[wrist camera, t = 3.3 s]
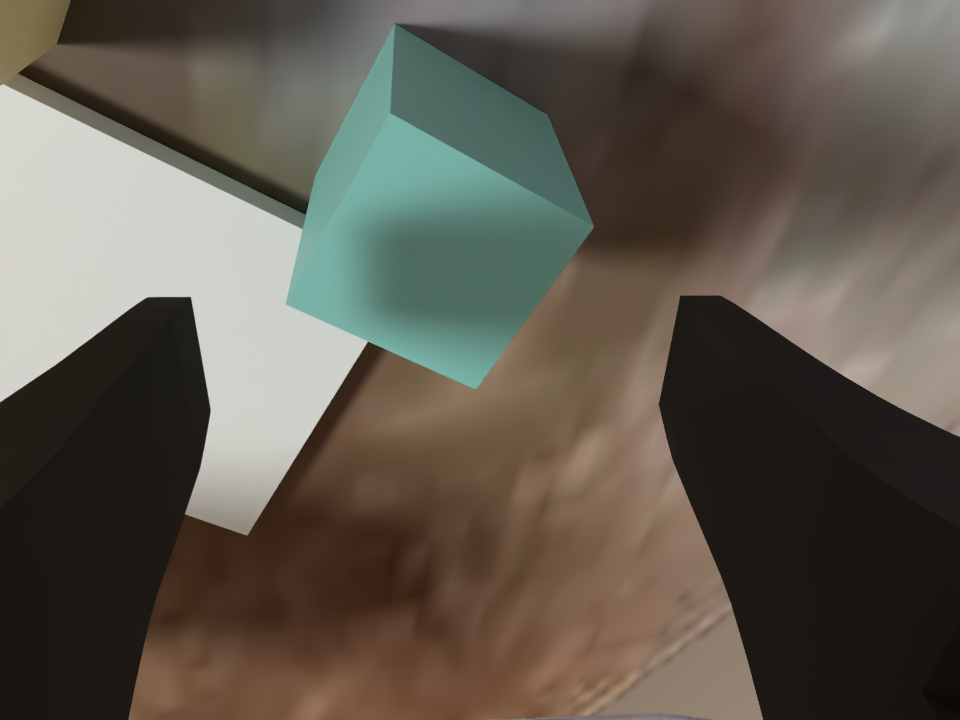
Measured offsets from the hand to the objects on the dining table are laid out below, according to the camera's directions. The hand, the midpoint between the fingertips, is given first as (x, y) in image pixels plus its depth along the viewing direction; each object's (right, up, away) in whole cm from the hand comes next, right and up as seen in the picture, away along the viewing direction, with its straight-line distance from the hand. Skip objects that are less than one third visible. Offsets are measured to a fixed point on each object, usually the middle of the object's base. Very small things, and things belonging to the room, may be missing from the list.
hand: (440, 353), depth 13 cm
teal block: (-1, +5, +7) cm, 9 cm away
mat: (-8, +1, +9) cm, 12 cm away
